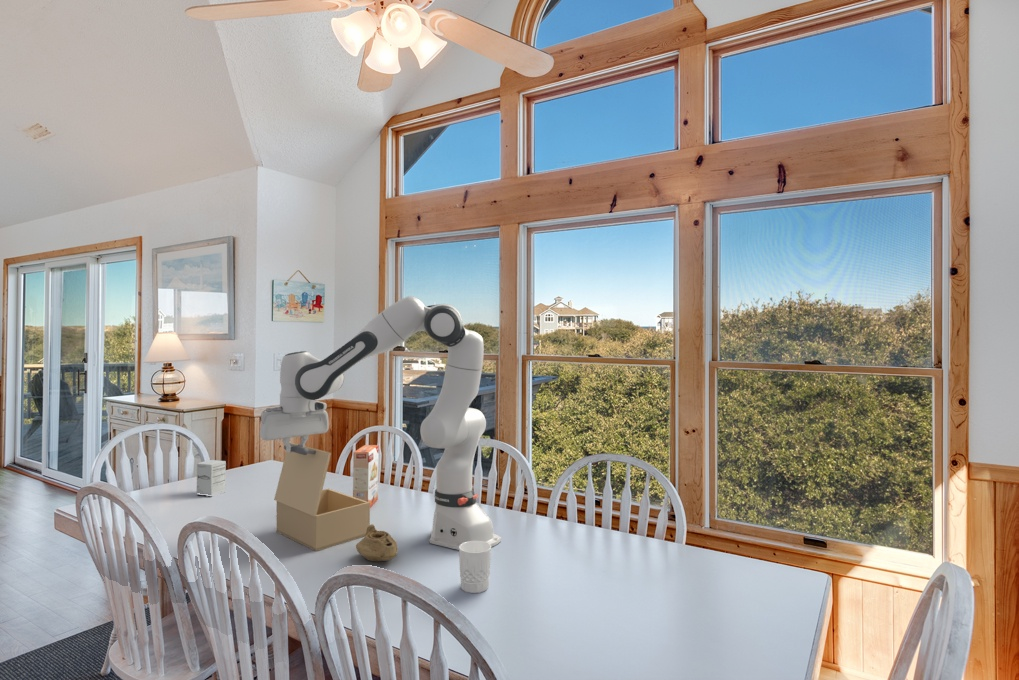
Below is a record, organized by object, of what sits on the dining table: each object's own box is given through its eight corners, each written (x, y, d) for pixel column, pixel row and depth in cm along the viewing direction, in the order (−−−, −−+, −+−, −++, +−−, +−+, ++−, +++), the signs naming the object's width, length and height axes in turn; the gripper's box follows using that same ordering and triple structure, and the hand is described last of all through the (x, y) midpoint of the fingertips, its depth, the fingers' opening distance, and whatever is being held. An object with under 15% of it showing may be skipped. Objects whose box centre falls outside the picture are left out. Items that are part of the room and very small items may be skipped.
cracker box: (369, 511, 195) (369, 451, 195) (352, 511, 195) (352, 451, 195) (379, 499, 209) (379, 444, 209) (363, 499, 209) (363, 444, 209)
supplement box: (195, 495, 214) (195, 463, 214) (211, 490, 221) (211, 459, 221) (211, 497, 211) (211, 464, 211) (226, 492, 219) (226, 460, 218)
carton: (369, 534, 172) (369, 502, 172) (316, 551, 158) (316, 516, 158) (328, 518, 188) (328, 488, 188) (276, 531, 174) (276, 500, 174)
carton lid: (331, 453, 162) (314, 450, 158) (316, 516, 158) (298, 515, 154) (290, 442, 178) (274, 440, 174) (276, 500, 174) (259, 499, 170)
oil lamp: (380, 572, 144) (380, 542, 144) (347, 557, 154) (347, 529, 154) (413, 559, 153) (413, 530, 153) (379, 546, 162) (379, 519, 162)
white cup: (474, 577, 141) (474, 538, 141) (497, 586, 136) (497, 545, 136) (452, 588, 135) (452, 547, 135) (475, 597, 130) (475, 555, 130)
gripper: (266, 409, 156) (265, 458, 156) (331, 403, 172) (331, 448, 172) (256, 407, 161) (255, 455, 161) (320, 401, 176) (320, 445, 176)
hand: (295, 451), depth 166 cm, fingers open, 2 cm apart
